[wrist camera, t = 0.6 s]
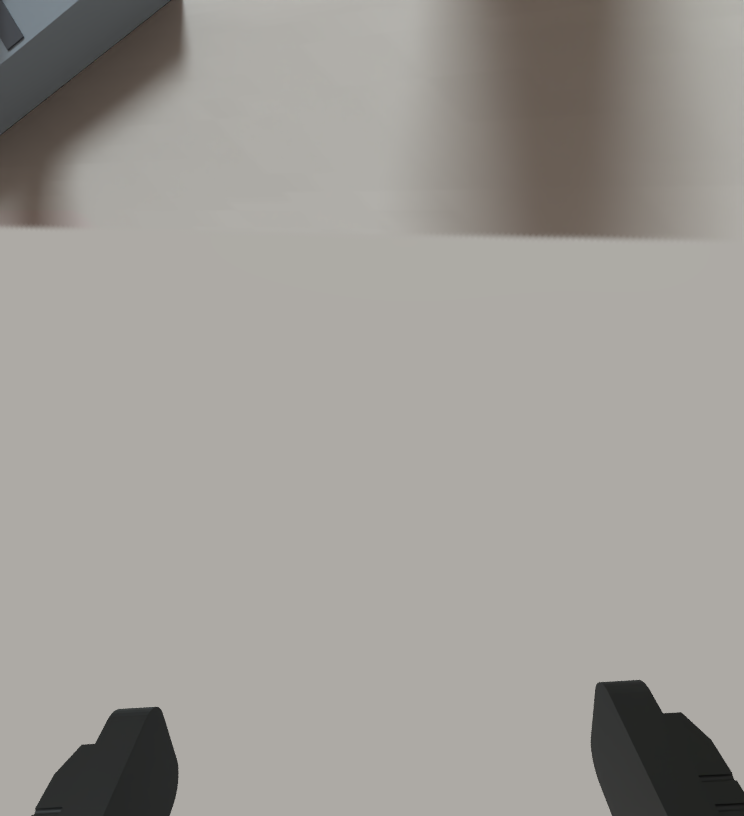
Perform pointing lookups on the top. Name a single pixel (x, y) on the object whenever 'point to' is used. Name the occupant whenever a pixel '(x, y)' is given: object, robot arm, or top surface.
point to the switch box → (57, 45)
